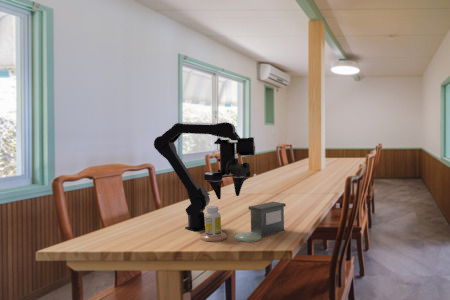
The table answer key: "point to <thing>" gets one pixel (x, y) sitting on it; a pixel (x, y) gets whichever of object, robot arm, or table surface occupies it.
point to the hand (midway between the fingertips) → (228, 197)
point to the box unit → (267, 218)
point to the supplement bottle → (212, 222)
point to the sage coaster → (248, 237)
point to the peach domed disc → (213, 239)
